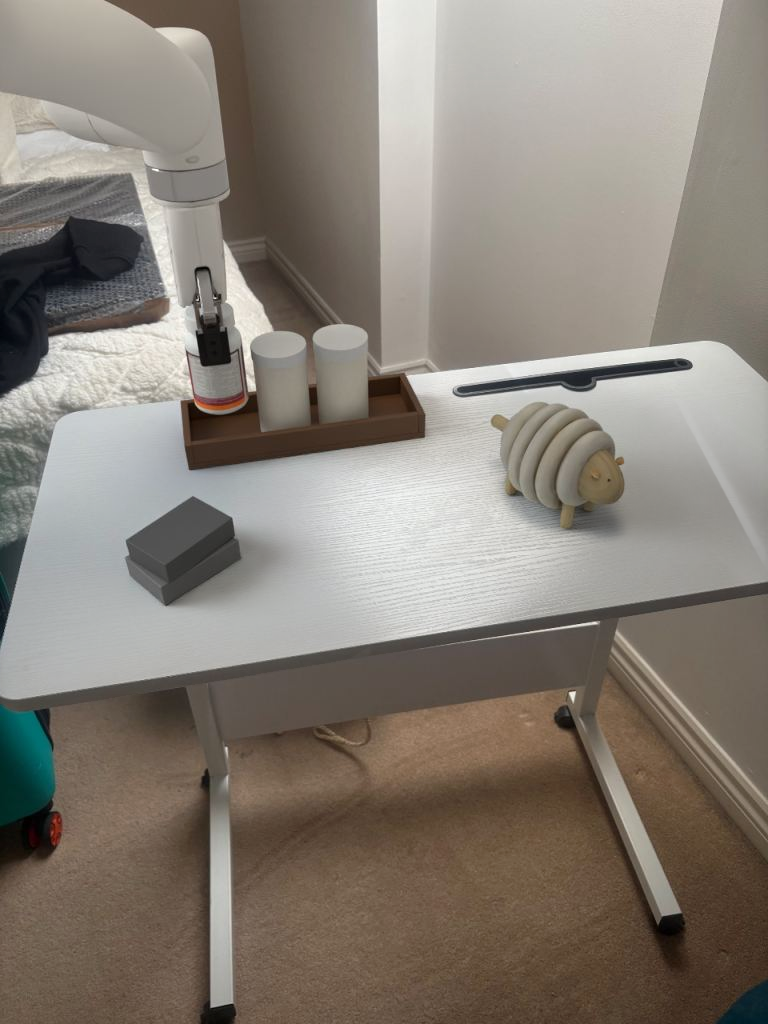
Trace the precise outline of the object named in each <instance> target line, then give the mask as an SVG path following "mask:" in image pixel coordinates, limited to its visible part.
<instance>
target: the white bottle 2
mask: <svg viewBox="0 0 768 1024" xmlns="http://www.w3.org/2000/svg"><path fill="white" fill-rule="evenodd" d="M312 348H313V354H314V367H315V384H317V399H318V415H319V423H320V424H326V423H334V422H341V421H349V420H356V419H364V418H369V412H368V377H369V372H368V371H369V366H368V365H369V364H368V351H369V334H368V333H367V331H366V330H365V329H363V328H362V327H360V326H357V325H353V324H349V323H348V324H346V323H337V324H329V325H326V326H322V327H320V328H319V329H317V330H316V331H315V332H314V333H313V335H312Z"/></svg>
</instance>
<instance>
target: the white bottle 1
mask: <svg viewBox="0 0 768 1024" xmlns="http://www.w3.org/2000/svg"><path fill="white" fill-rule="evenodd" d="M306 340H307V339H305V338H304V337H303V336H302V335H301V334H299V333H296V332H293V331H289V330H288V331H286V330H276V331H275V330H274V331H269V332H265V333H262V334H259V335H258V336H255V338H253V339H252V340H251V342H250V345H249V350H250V358H251V361H252V365H253V366H252V367H253V374H254V375H253V377H254V386H255V391H256V393H257V402H258V410H259V418H260V427H261V432H266V431H274V430H281V429H289V428H296V427H304V426H311V414H310V400H309V387H308V385H309V376H308V374H309V373H308V362H307V361H308V360H307V357H308V347H307V341H306Z"/></svg>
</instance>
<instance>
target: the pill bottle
mask: <svg viewBox="0 0 768 1024" xmlns="http://www.w3.org/2000/svg"><path fill="white" fill-rule="evenodd" d="M221 307H222V314H223V320H224V327H227V333H228V340H229V347H230V354H231V363H230V364H224V365H216V366H207V367H203V366H201V363H200V357H199V351H198V345H197V339H196V333H195V330H197V324H196V317H195V311H194V307H193V304H192V305H191V306H186V308H185V310H184V311H183V312H184V313H183V315H184V321H185V328H186V331H187V332H186V333H185V335H184V339H183V343H184V351H185V356H186V361H187V366H188V373H189V379H190V385H191V391H192V396H193V399H194V402H195V404H196V406H197V407H198V408H199V409H200V410H201V411H204V412H206V413H209V414H216V415H222V414H228V413H232V412H234V411H237V410H239V409H240V408H242V407H243V406H244V405H245V404H246V403H247V401H248V392H249V387H248V380H247V372H246V363H245V362H246V361H245V356H244V346H243V339H242V334H241V332H240V330H239V329H238V328H237V327H236V320H235V319H236V318H235V314H234V308H233V306H232V305H231V304H230V303H229V302H227V301H225V302H224V303H223V304H222V302H221ZM214 309H215V313H217V309H216V307H214ZM199 310H200V316H201V315H203V313H202V308H199Z"/></svg>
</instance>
